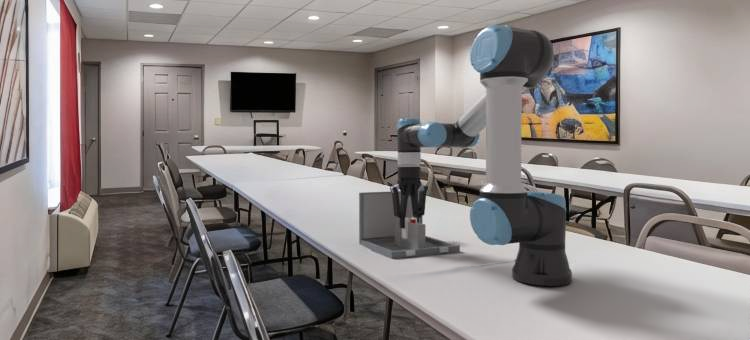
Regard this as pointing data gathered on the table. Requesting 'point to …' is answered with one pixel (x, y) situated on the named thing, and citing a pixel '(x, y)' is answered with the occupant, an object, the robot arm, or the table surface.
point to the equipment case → (390, 226)
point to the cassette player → (410, 235)
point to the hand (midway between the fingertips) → (409, 237)
